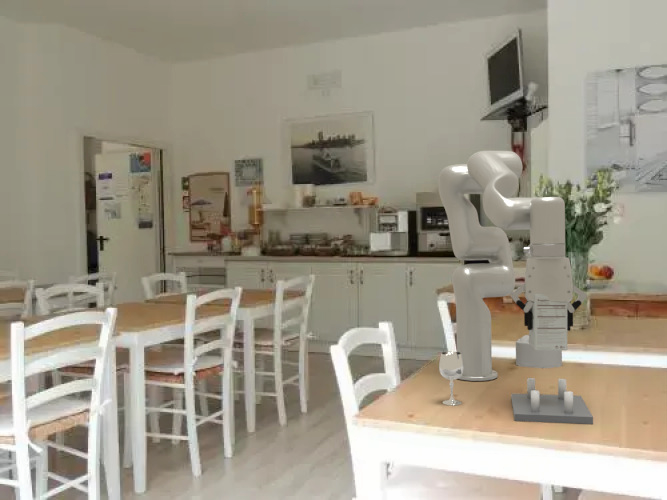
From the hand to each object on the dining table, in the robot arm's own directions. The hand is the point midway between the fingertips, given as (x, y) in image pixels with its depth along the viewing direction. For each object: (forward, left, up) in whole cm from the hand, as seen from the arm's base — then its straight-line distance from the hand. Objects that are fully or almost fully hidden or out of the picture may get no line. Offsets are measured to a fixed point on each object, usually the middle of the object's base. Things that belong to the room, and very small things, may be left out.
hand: (548, 329), depth 151 cm
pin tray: (0, 0, -19) cm, 19 cm away
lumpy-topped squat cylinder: (+2, +52, -19) cm, 55 cm away
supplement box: (0, +1, -5) cm, 5 cm away
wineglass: (-22, +4, -19) cm, 29 cm away
